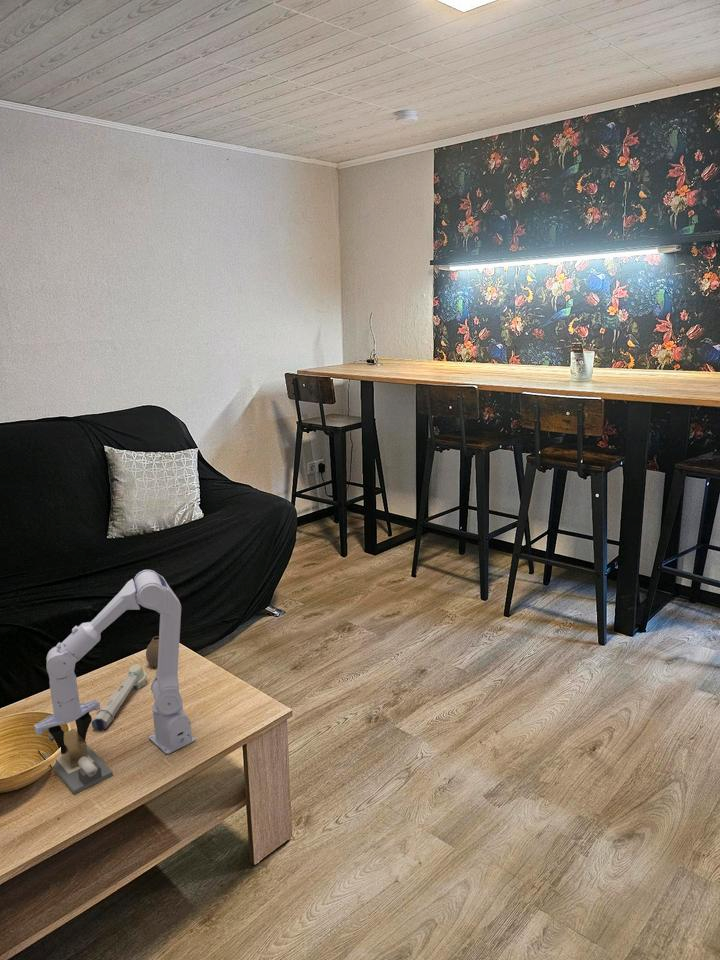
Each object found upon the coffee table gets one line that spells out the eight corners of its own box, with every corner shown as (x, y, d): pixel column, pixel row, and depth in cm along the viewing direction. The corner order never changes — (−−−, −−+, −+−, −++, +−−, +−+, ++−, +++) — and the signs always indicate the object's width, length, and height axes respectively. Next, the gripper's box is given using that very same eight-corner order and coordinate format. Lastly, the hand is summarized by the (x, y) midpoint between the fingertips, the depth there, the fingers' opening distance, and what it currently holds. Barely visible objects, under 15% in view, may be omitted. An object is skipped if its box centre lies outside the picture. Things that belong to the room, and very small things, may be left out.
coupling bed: (112, 775, 156) (110, 757, 155) (74, 794, 150) (71, 776, 149) (74, 734, 172) (72, 718, 171) (38, 750, 166) (35, 734, 165)
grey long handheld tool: (87, 718, 172) (130, 657, 195) (92, 738, 175) (134, 676, 198) (106, 719, 172) (147, 658, 195) (111, 740, 174) (151, 677, 197)
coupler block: (88, 759, 159) (86, 741, 158) (71, 767, 157) (68, 749, 155) (76, 746, 164) (73, 728, 163) (59, 753, 162) (57, 735, 160)
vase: (144, 662, 207) (142, 636, 205) (167, 656, 210) (165, 630, 208) (149, 672, 201) (147, 645, 199) (173, 666, 204) (170, 640, 202)
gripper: (88, 678, 164) (95, 727, 168) (26, 702, 155) (34, 753, 158) (101, 689, 159) (107, 739, 163) (37, 714, 150) (45, 767, 153)
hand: (72, 747), depth 160 cm, fingers closed on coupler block, 4 cm apart
